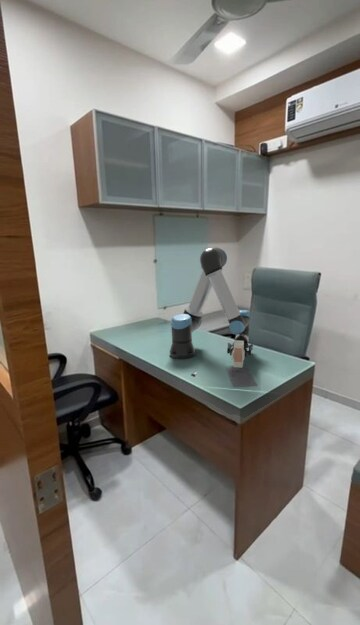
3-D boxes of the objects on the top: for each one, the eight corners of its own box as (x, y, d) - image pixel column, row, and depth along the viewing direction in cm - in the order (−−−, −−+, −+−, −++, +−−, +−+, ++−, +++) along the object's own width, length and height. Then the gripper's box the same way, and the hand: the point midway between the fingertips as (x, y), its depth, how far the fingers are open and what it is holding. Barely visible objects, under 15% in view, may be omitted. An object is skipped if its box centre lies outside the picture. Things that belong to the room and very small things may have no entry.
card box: (234, 362, 157) (234, 340, 154) (243, 363, 156) (243, 340, 153) (233, 367, 151) (233, 344, 149) (242, 367, 150) (243, 344, 147)
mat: (226, 368, 159) (226, 367, 158) (247, 367, 158) (247, 366, 158) (233, 388, 137) (233, 386, 137) (257, 387, 137) (257, 386, 137)
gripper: (257, 349, 168) (256, 366, 146) (225, 347, 172) (219, 362, 150) (257, 336, 166) (256, 351, 144) (225, 334, 171) (219, 348, 149)
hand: (237, 357), depth 147 cm, fingers closed on card box, 4 cm apart
